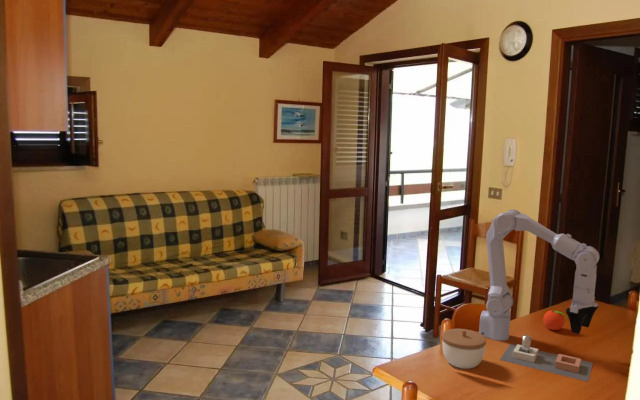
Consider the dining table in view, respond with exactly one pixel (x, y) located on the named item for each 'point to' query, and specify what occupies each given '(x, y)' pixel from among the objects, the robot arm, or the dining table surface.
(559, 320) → the clementine
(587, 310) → the robot arm
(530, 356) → the pin mount
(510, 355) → the board
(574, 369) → the socket
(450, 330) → the lidded bowl
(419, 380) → the dining table surface
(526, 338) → the lock pin
